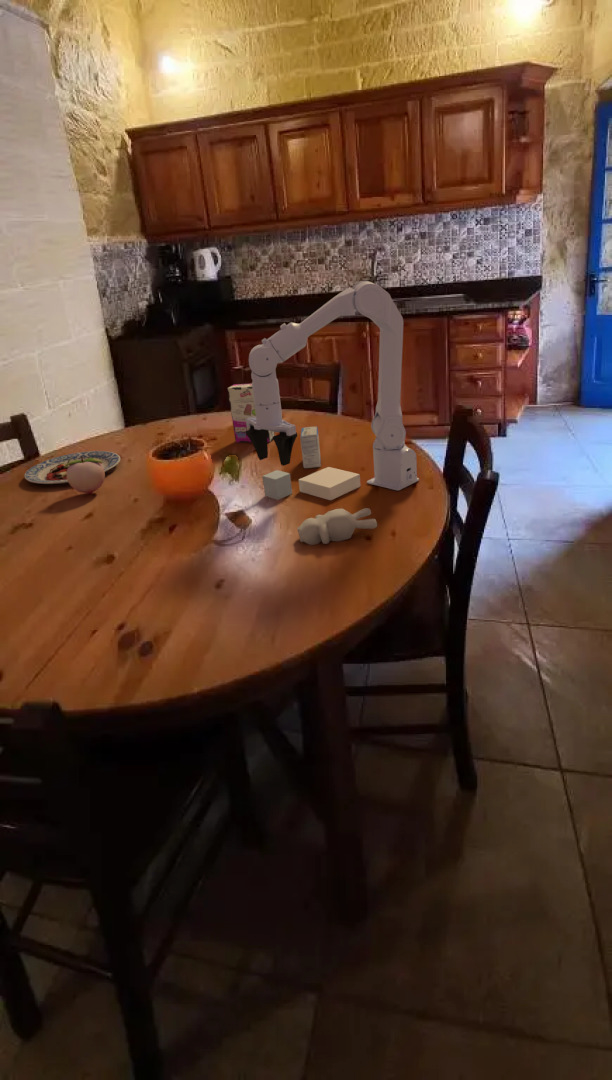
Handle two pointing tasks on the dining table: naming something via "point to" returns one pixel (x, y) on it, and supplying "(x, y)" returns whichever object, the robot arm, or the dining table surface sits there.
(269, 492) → the blue-grey brick
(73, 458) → the ceramic plate
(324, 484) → the base brick
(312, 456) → the medicine box
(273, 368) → the robot arm
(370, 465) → the dining table surface
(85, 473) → the decorative fruit
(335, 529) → the bunny figurine
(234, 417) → the candy bar box
